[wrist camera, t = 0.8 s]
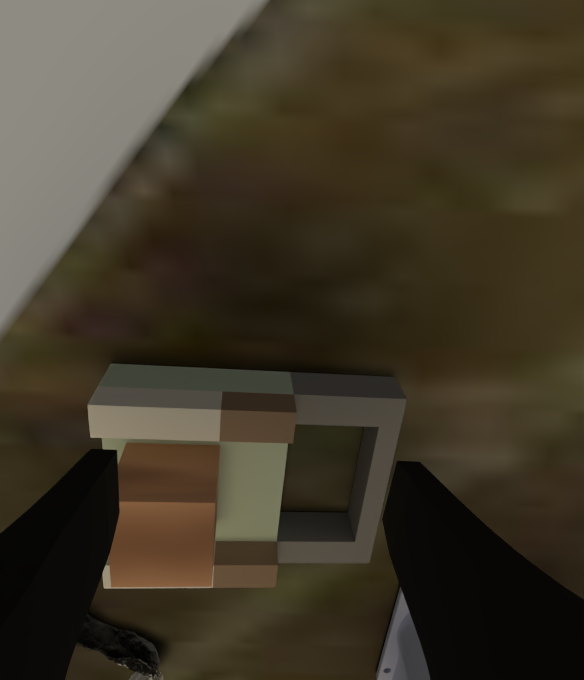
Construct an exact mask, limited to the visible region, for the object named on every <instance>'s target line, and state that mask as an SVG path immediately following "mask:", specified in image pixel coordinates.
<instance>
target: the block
mask: <svg viewBox="0 0 584 680" xmlns="http://www.w3.org/2000/svg"><path fill="white" fill-rule="evenodd" d="M219 457H220V445H191V444H157V443H126V445H125V448H124V450H123V453H122V456H121V458H120V461H119V464H118V484H119V508H120V514H119V518H118V522H117V527H116V531H115V535H114V539H113V543H112V547H111V551H110V554H109V566H110V579H111V587H212V574H213V561H214V548H215V535H216V522H217V500H218V479H219Z"/></svg>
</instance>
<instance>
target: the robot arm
mask: <svg viewBox="0 0 584 680" xmlns="http://www.w3.org/2000/svg"><path fill="white" fill-rule="evenodd" d="M119 514H120V508H119V484H118V460H117V450H108V449H91V450H90V451H88V452H87V453H86V454H85V455H84V456H83V457H82V458H81V459H80V460H79V461H78V462H77V463H76V464H75V465H74V466H73V467H72V468H71V469H70V470H69V471H68V472H67V473H66V474H65V475H64V476H63V477H62V478H61V479H60V480H59V481H58V482H57V483H56V484H55V485H54V486H53V487H52V488H51V489H50V490H49V491H48V492H47V493H46V494H44V495H43V496H42V497H41V498H40V499H39V500H38V501H37V502H36V503H35V504H34V505H33V506H32V507H31V508H29V509H28V510H27V511H26V512H25V513H24V514H23V515H21V516H20V517H19V518H18V519H17V520H16V521H14V522H13V523H12V524H11V525H10V526H9V527H7V528H6V529H5V530H4V531H3V532H2V533H0V680H65V677H66V673H67V670H68V666H69V663H70V660H71V657H72V654H73V651H74V648H75V645H76V643H77V640H78V637H79V635H80V632H81V629H82V627H83V624H84V621H85V619H86V616H87V613H88V611H89V608H90V605H91V603H92V600H93V597H94V595H95V592H96V589H97V587H98V584H99V581H100V579H101V576H102V573H103V570H104V568H105V565H106V562H107V559H108V557H109V554H110V551H111V547H112V543H113V539H114V535H115V531H116V527H117V522H118V518H119ZM382 520H383V525H384V530H385V535H386V540H387V544H388V549H389V553H390V557H391V560H392V563H393V566H394V569H395V572H396V575H397V578H398V581H399V584H400V589H399V593H398V597H397V600H396V604H395V607H394V611H393V615H392V618H391V622H390V626H389V629H388V633H387V636H386V640H385V644H384V647H383V651H382V655H381V658H380V662H379V665H378V669H377V673H376V679H377V680H584V600H583V599H582V598H580V597H579V596H577V595H576V594H574V593H573V592H571V591H570V590H568V589H567V588H565V587H564V586H562V585H561V584H559V583H558V582H557V581H555V580H554V579H552V578H551V577H550V576H548V575H547V574H546V573H544V572H543V571H542V570H540V569H539V568H538V567H536V566H535V565H534V564H532V563H531V562H530V561H528V560H527V559H526V558H524V557H523V556H522V555H521V554H519V553H518V552H517V551H516V550H514V549H513V548H512V547H511V546H509V545H508V544H507V543H506V542H505V541H504V540H502V539H501V538H500V537H499V536H498V535H497V534H495V533H494V532H493V531H492V530H491V529H490V528H489V527H487V526H486V525H485V524H484V523H483V522H482V521H481V520H480V519H479V518H477V517H476V516H475V515H474V514H473V513H472V512H471V511H470V510H469V509H468V508H467V507H466V506H465V505H464V504H463V503H461V502H460V501H459V500H458V499H457V498H456V497H455V496H454V495H453V494H452V493H451V492H450V491H449V490H448V489H447V488H446V487H445V486H444V485H443V484H442V483H441V482H440V481H439V480H438V479H437V478H436V477H435V476H434V475H433V474H432V473H431V472H430V471H429V470H428V469H426V468H425V467H424V466H423V465H422V464H421V463H420V462H411V461H397V464H396V468H395V471H394V475H393V479H392V483H391V487H390V491H389V495H388V499H387V503H386V507H385V511H384V515H383V518H382Z"/></svg>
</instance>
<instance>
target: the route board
mask: <svg viewBox="0 0 584 680" xmlns="http://www.w3.org/2000/svg"><path fill="white" fill-rule="evenodd" d="M406 402H407V398H406V396H405V395H404V393H403V391H402V389H401V388H400V386H399V384H398V382H397V381H396V379H395V377H385V376H364V375H343V374H322V373H301V372H280V371H259V370H238V369H217V368H196V367H175V366H154V365H133V364H112V363H111V364H110V366H109V367H108V369H107V371H106V373H105V375H104V376H103V378H102V380H101V382H100V383H99V385H98V387H97V389H96V391H95V392H94V394H93V396H92V398H91V399H90V401H89V403H88V417H89V428H90V438H102V445H103V449H108V450H117V460H118V464H119V461H120V458H121V456H122V453H123V450H124V448H125V445H126V443H157V444H191V445H220V457H219V479H218V500H217V522H216V535H215V548H214V561H213V574H212V587H111V579H110V566H109V557H108V559H107V562H106V565H105V568H104V570H103V573H102V574H103V585H104V588H265V587H276V579H277V571H278V563H369V562H370V558H371V554H372V549H373V545H374V541H375V536H376V532H377V528H378V523H379V519H380V515H381V510H382V506H383V502H384V497H385V493H386V489H387V484H388V480H389V476H390V471H391V467H392V463H393V458H394V454H395V450H396V445H397V441H398V437H399V432H400V428H401V424H402V419H403V415H404V411H405V406H406ZM295 424H305V425H334V426H363V427H364V430H363V435H362V440H361V446H360V451H359V456H358V461H357V466H356V471H355V477H354V482H353V487H352V492H351V497H350V502H349V508H348V513H339V512H280V508H281V499H282V491H283V482H284V474H285V465H286V457H287V448H288V443H289V444H293V440H294V432H295Z"/></svg>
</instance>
